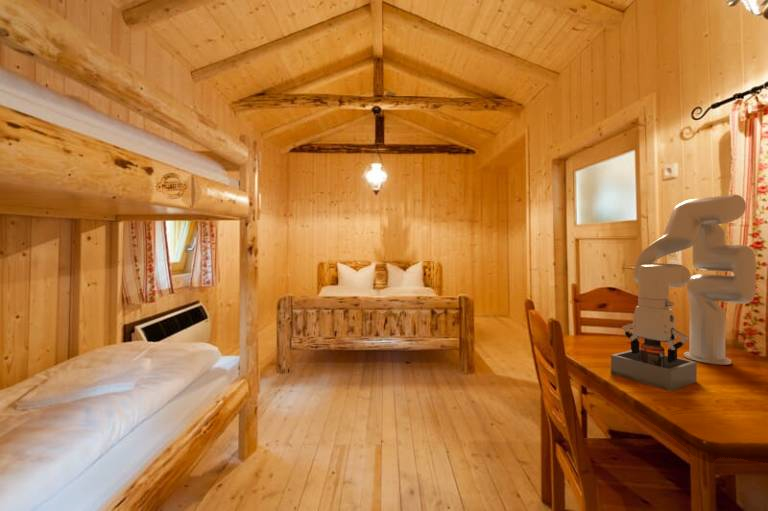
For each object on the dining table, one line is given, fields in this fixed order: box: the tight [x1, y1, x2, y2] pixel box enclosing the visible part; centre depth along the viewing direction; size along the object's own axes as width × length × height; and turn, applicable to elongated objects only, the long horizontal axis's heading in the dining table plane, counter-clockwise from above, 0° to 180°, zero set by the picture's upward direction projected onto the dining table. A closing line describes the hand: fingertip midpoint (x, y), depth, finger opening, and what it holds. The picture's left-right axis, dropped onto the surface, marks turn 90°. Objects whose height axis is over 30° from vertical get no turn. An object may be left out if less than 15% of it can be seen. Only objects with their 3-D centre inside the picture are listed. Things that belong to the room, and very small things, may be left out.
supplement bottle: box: [640, 338, 666, 368], centre depth 105 cm, size 6×6×11 cm
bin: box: [610, 348, 698, 392], centre depth 105 cm, size 16×16×6 cm
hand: (652, 357), depth 105 cm, fingers open, 9 cm apart
